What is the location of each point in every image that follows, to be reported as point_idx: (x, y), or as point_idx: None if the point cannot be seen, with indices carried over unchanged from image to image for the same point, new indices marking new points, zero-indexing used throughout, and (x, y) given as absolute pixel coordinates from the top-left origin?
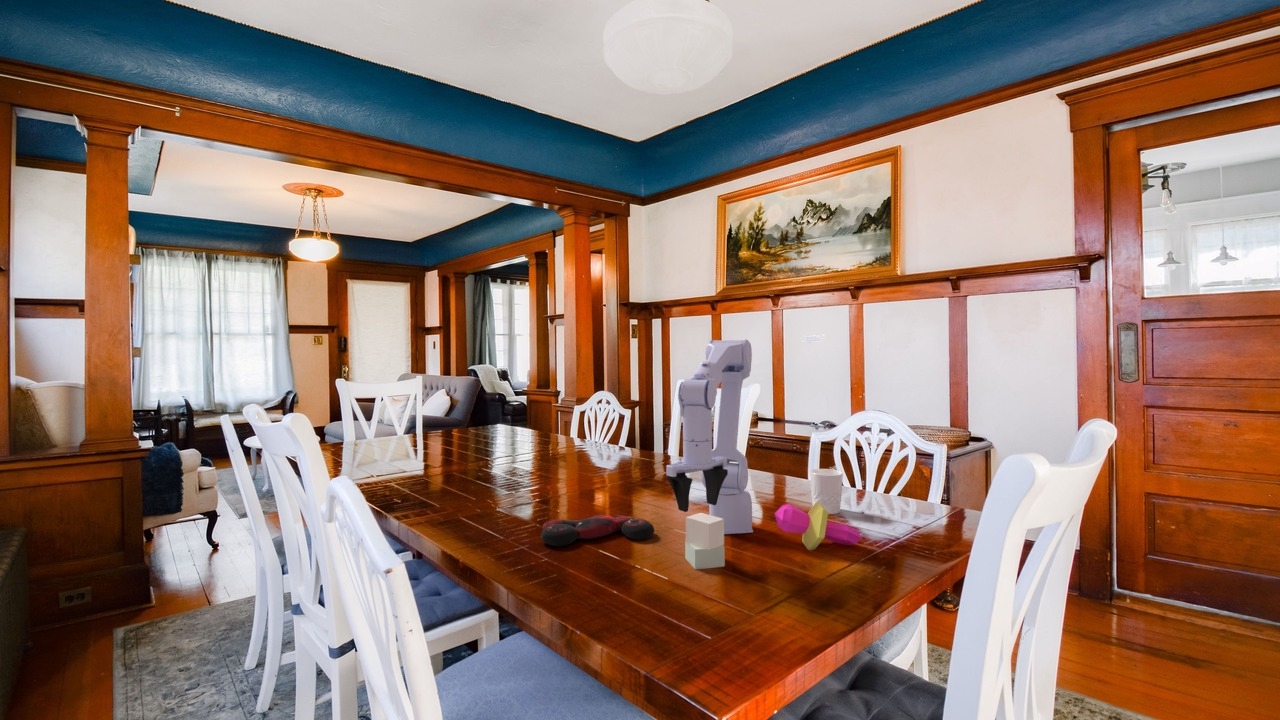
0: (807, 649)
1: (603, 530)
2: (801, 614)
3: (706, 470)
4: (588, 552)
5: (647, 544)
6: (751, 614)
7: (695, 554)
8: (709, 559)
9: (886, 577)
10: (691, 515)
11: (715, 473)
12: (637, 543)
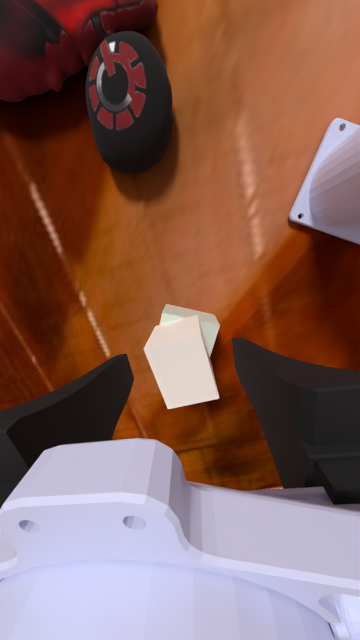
0: None
1: (33, 84)
2: (193, 470)
3: (299, 427)
4: (8, 190)
5: (133, 202)
6: None
7: None
8: None
9: None
10: (164, 344)
11: (292, 487)
12: (116, 184)
